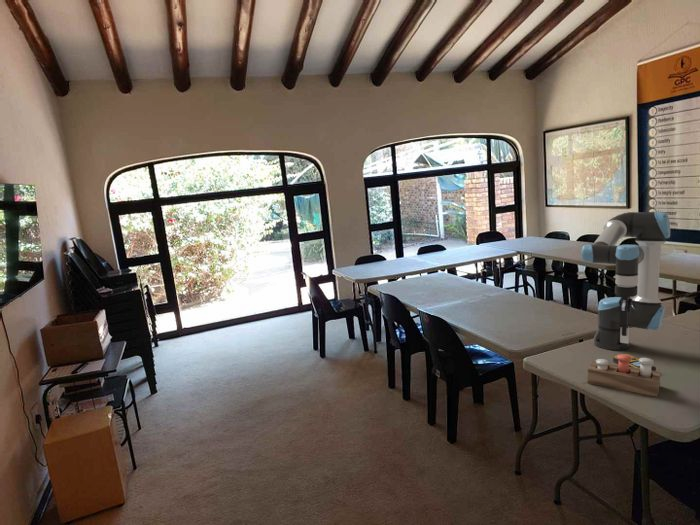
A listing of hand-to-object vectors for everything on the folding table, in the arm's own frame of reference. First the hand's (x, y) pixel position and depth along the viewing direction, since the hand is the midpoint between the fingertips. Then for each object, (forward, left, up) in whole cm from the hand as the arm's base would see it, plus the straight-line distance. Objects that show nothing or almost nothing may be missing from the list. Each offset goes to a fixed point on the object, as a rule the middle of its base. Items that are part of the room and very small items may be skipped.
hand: (624, 342), depth 182 cm
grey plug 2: (0, +8, -14) cm, 16 cm away
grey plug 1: (0, -7, -17) cm, 19 cm away
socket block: (0, 0, -18) cm, 18 cm away
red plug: (0, 0, -14) cm, 14 cm away
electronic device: (-20, +1, -19) cm, 28 cm away
